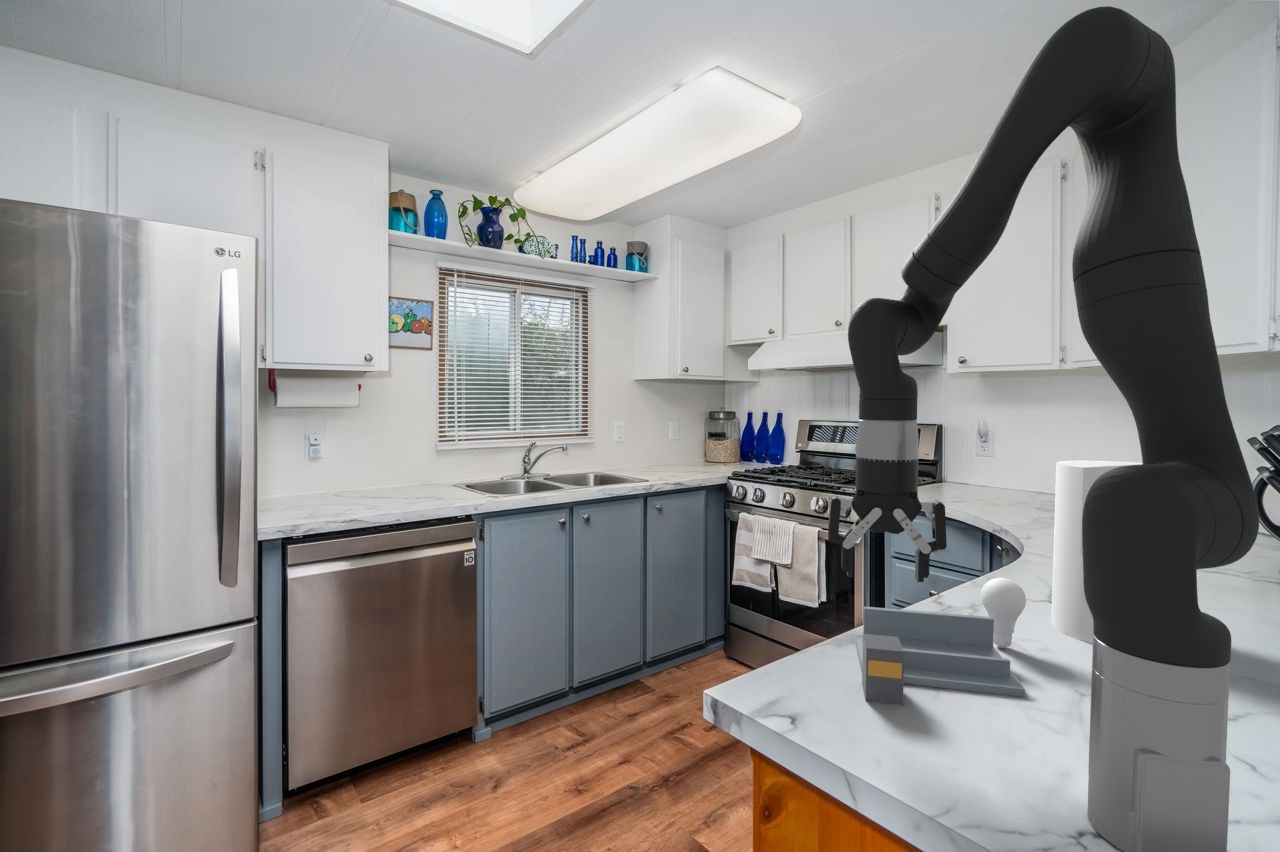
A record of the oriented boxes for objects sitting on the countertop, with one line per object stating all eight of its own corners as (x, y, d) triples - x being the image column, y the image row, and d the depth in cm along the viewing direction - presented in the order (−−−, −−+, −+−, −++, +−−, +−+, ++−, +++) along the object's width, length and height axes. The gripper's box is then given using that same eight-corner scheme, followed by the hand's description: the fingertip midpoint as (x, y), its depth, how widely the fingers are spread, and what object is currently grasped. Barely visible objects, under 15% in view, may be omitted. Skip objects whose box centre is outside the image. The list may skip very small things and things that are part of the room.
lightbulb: (1031, 657, 93) (1033, 585, 92) (987, 654, 94) (989, 583, 93) (1015, 641, 99) (1017, 574, 98) (974, 638, 100) (975, 571, 99)
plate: (1008, 676, 84) (1008, 665, 84) (868, 662, 89) (868, 651, 89) (992, 656, 91) (993, 646, 91) (863, 643, 95) (863, 634, 95)
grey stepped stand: (1024, 696, 80) (1026, 648, 80) (863, 678, 86) (863, 632, 85) (997, 659, 92) (998, 616, 92) (856, 645, 97) (856, 604, 97)
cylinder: (1027, 621, 108) (1032, 462, 106) (1094, 609, 114) (1099, 458, 113) (1136, 660, 92) (1143, 473, 90) (1207, 644, 98) (1215, 469, 96)
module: (903, 706, 78) (904, 652, 78) (865, 701, 79) (866, 648, 79) (897, 687, 83) (898, 636, 83) (862, 683, 84) (862, 633, 84)
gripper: (830, 456, 78) (828, 581, 79) (953, 459, 74) (950, 591, 75) (828, 451, 85) (826, 566, 86) (940, 453, 82) (937, 574, 82)
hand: (884, 577), depth 81 cm, fingers open, 8 cm apart
